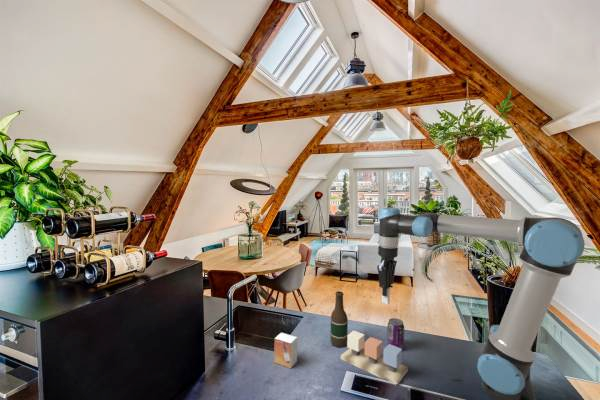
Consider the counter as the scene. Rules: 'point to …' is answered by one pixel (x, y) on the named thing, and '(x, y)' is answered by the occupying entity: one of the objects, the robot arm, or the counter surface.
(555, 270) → the robot arm
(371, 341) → the salmon orange cube
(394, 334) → the beverage can
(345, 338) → the beer bottle
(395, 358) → the light blue cube
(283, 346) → the small box
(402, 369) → the board
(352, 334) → the cream cube
